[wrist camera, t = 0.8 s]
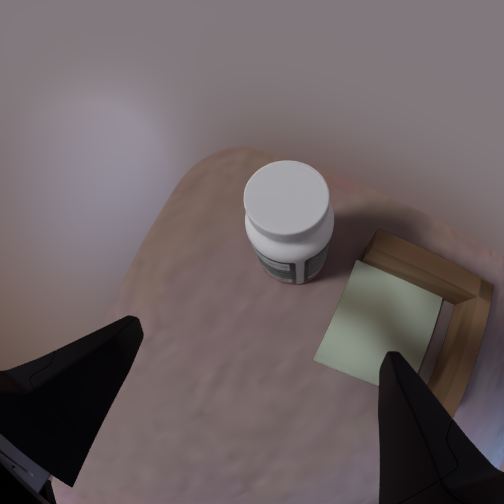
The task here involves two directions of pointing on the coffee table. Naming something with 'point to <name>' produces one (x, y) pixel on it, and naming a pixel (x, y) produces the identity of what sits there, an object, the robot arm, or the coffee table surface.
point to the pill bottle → (289, 220)
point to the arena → (407, 316)
